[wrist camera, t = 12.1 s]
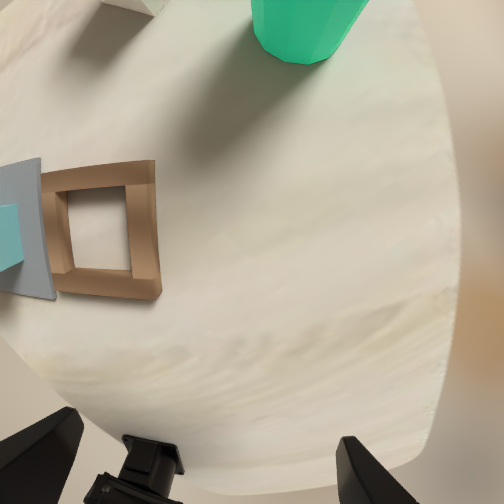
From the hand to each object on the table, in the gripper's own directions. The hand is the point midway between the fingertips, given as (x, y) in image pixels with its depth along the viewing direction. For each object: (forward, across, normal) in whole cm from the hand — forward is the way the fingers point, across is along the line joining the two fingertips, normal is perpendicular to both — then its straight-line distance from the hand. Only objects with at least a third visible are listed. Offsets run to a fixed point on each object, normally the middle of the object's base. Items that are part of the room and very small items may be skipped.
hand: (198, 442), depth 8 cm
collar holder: (+13, +10, -4) cm, 17 cm away
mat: (+13, +22, -4) cm, 25 cm away
